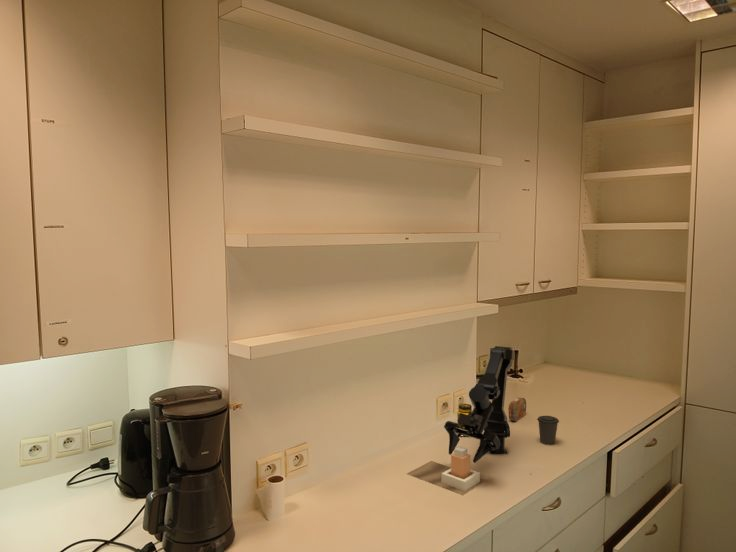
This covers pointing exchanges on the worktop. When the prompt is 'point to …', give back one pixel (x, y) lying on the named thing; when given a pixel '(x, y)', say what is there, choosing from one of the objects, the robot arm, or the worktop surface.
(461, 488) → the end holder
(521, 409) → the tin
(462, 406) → the condiment
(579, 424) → the worktop surface
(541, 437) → the coffee cup
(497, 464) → the worktop surface
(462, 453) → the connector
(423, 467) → the board
